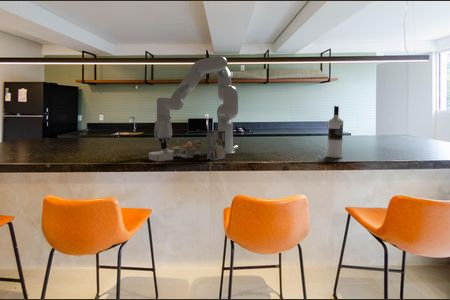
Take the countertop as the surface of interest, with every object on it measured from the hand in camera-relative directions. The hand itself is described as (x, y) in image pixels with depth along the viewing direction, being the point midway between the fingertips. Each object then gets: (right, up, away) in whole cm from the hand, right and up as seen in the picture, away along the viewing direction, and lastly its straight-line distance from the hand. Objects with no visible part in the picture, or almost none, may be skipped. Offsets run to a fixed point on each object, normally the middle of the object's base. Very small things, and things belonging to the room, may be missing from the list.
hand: (163, 148), depth 185 cm
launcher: (+10, 0, +2) cm, 11 cm away
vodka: (+102, -5, -4) cm, 102 cm away
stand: (+12, -4, +2) cm, 13 cm away
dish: (+1, -6, -11) cm, 13 cm away
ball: (+15, +3, +1) cm, 15 cm away
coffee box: (+32, -6, -9) cm, 34 cm away
